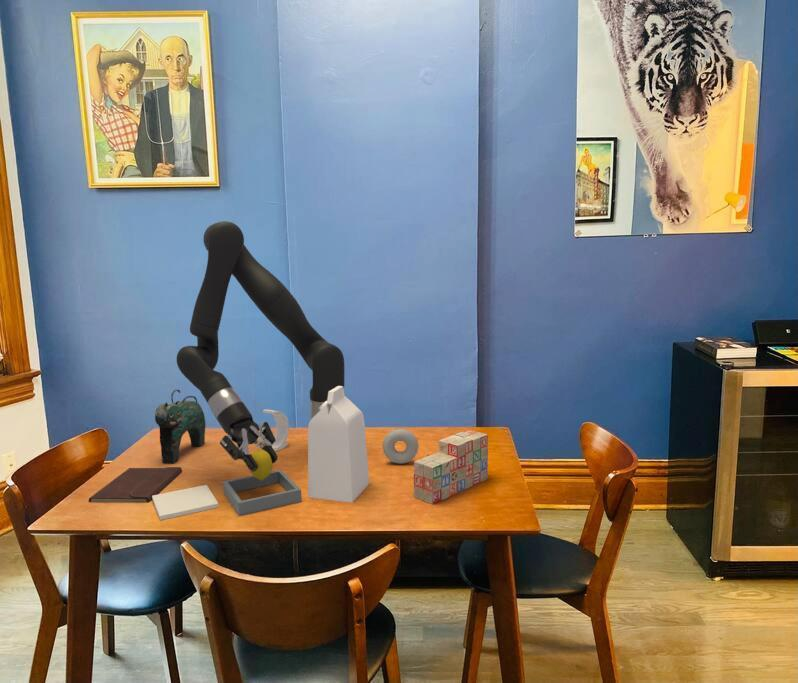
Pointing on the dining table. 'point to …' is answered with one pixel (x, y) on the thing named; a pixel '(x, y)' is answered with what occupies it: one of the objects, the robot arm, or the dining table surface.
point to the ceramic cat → (179, 426)
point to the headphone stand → (279, 429)
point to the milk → (337, 450)
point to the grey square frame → (264, 501)
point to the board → (184, 502)
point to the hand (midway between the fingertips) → (265, 465)
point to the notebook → (136, 485)
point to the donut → (406, 438)
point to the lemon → (262, 464)
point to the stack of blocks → (452, 467)
